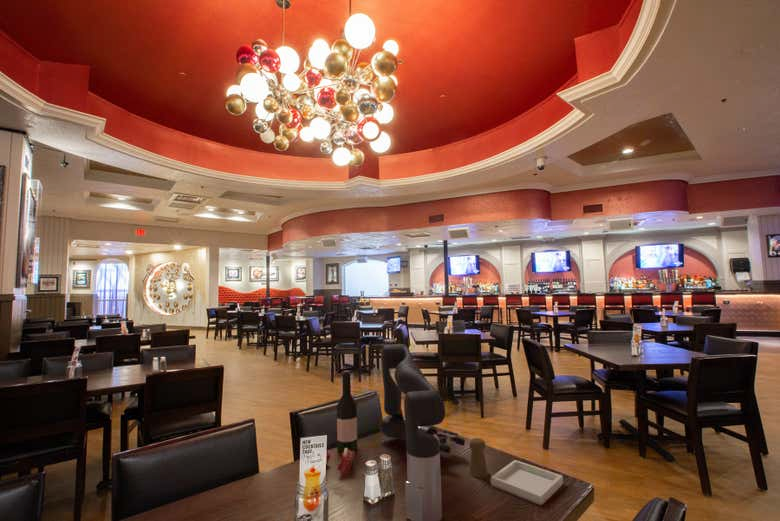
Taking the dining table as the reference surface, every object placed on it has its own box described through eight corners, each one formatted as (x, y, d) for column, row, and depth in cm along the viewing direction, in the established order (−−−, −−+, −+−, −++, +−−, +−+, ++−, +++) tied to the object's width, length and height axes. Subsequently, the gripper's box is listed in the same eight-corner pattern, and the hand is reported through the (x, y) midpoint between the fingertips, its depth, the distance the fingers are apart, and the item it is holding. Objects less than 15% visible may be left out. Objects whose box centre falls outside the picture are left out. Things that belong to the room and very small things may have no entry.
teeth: (353, 452, 124) (308, 454, 124) (354, 478, 123) (309, 479, 123) (356, 441, 134) (315, 443, 134) (356, 464, 133) (315, 466, 133)
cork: (488, 478, 120) (486, 443, 121) (469, 477, 121) (468, 442, 122) (487, 469, 126) (485, 436, 127) (469, 468, 127) (467, 435, 128)
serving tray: (541, 505, 104) (540, 496, 105) (490, 485, 116) (490, 477, 116) (563, 484, 116) (562, 475, 116) (515, 467, 127) (514, 459, 127)
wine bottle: (333, 452, 142) (332, 373, 145) (342, 443, 150) (341, 368, 153) (353, 454, 140) (351, 373, 142) (361, 445, 148) (359, 369, 150)
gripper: (409, 429, 137) (444, 441, 125) (433, 419, 147) (468, 429, 135) (409, 450, 136) (445, 464, 125) (434, 438, 146) (469, 450, 135)
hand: (457, 446), depth 130 cm, fingers open, 8 cm apart
